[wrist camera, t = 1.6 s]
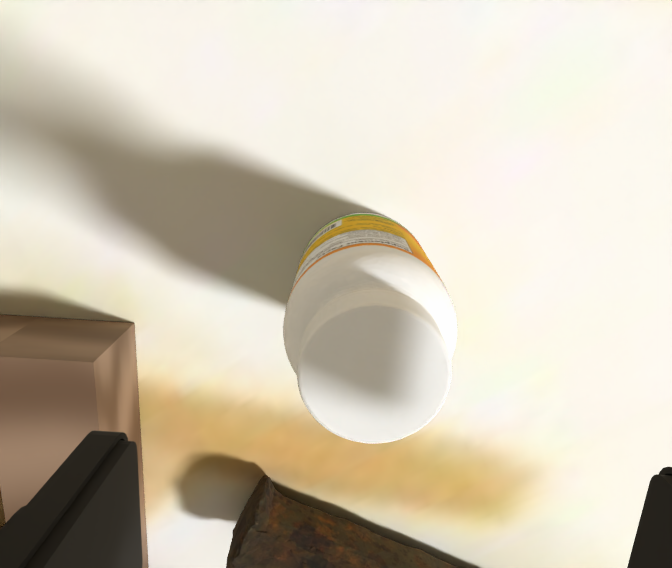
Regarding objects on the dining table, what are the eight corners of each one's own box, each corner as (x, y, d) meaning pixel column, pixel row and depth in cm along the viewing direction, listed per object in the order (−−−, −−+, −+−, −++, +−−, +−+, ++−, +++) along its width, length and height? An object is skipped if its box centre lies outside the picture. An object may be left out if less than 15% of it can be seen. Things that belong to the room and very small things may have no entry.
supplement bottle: (418, 333, 23) (467, 473, 14) (298, 327, 23) (267, 463, 14) (431, 214, 22) (496, 283, 12) (302, 206, 22) (270, 271, 12)
